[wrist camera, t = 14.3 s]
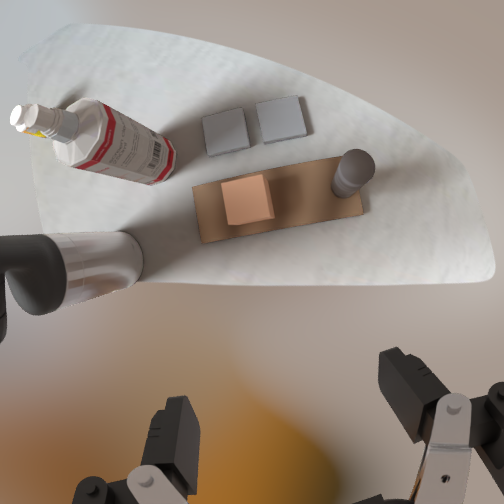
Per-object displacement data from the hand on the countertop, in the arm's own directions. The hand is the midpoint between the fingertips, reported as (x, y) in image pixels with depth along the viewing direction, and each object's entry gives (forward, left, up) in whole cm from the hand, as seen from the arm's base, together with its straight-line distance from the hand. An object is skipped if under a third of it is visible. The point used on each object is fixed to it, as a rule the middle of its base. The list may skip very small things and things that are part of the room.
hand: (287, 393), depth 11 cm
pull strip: (-2, +11, -30) cm, 33 cm away
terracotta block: (-5, +11, -29) cm, 31 cm away
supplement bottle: (-43, +37, -31) cm, 65 cm away
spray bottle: (-19, +21, -31) cm, 42 cm away
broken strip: (-3, +22, -30) cm, 38 cm away
